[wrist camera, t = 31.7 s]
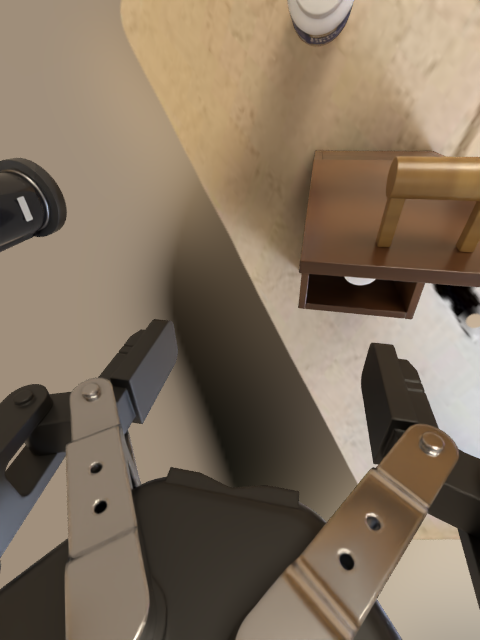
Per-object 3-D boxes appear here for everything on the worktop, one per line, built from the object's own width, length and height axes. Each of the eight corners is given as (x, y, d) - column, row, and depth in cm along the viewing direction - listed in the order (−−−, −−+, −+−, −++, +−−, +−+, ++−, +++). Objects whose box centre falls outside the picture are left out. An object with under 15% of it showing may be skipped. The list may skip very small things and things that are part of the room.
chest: (395, 279, 43) (412, 319, 35) (302, 272, 45) (298, 308, 37) (433, 151, 34) (467, 165, 26) (315, 150, 36) (313, 163, 28)
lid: (573, 295, 15) (674, 179, 11) (298, 273, 17) (308, 172, 13) (467, 171, 26) (499, 95, 22) (312, 168, 28) (319, 99, 25)
